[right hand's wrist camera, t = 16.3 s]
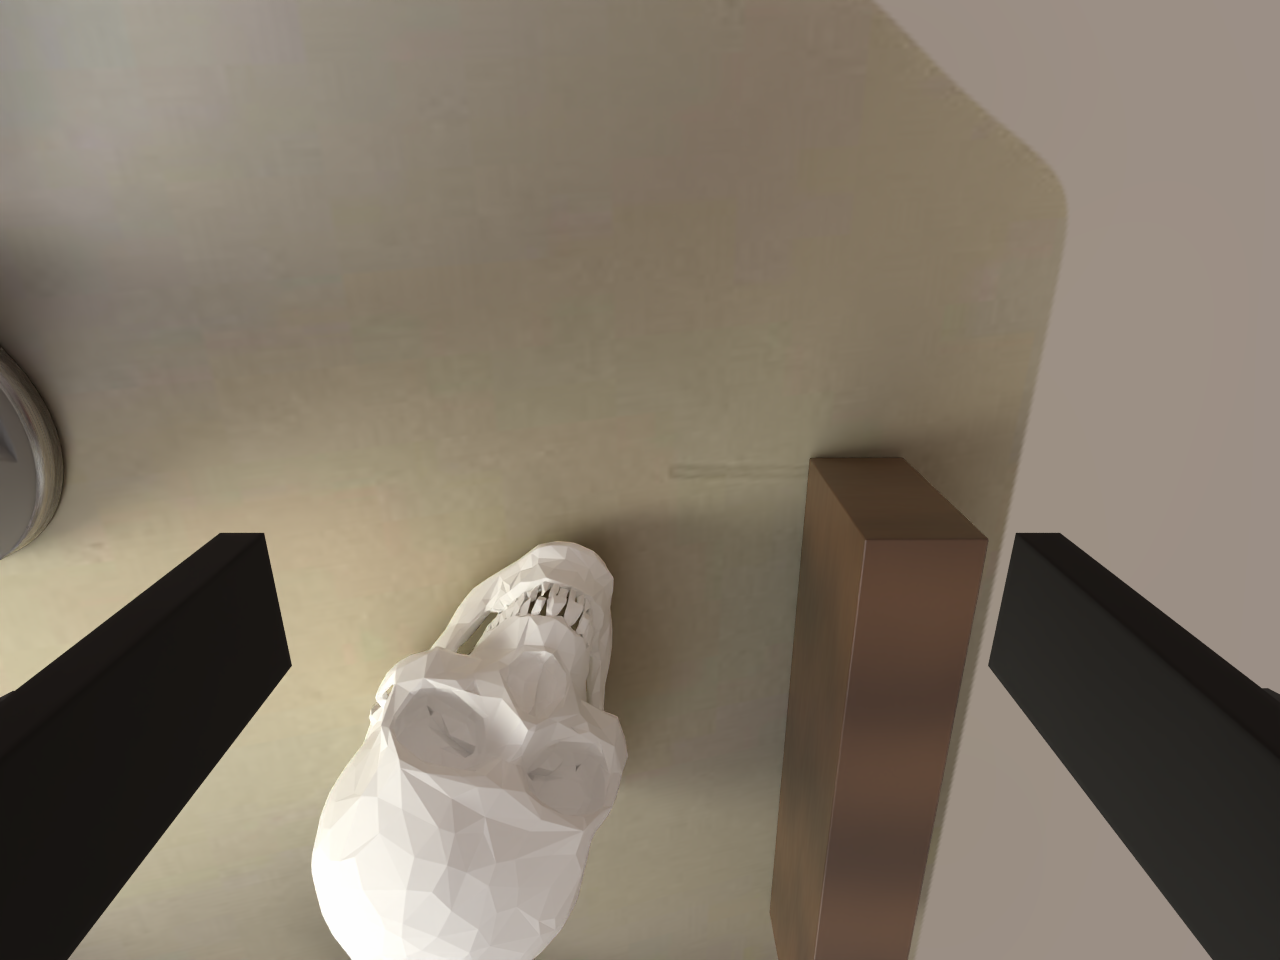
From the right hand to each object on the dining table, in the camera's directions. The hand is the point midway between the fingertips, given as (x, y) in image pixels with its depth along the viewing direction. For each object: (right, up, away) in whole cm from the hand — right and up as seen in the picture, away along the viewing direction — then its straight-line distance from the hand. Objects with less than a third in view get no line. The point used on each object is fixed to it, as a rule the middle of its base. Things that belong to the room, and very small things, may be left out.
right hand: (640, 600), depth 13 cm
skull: (-8, -10, +30) cm, 33 cm away
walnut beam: (+12, -12, +31) cm, 36 cm away
